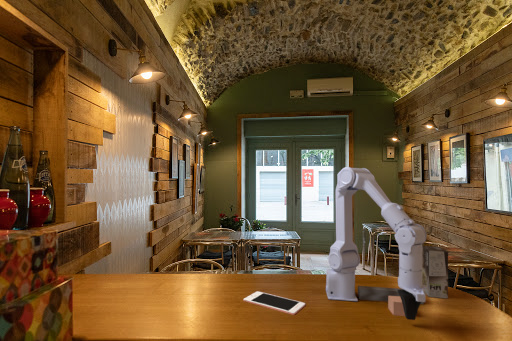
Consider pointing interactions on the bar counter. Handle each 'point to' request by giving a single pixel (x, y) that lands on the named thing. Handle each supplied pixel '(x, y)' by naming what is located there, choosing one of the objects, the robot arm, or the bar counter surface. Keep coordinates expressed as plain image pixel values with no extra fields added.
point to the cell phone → (275, 302)
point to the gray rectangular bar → (377, 293)
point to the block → (395, 305)
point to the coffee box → (435, 271)
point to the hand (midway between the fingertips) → (410, 318)
